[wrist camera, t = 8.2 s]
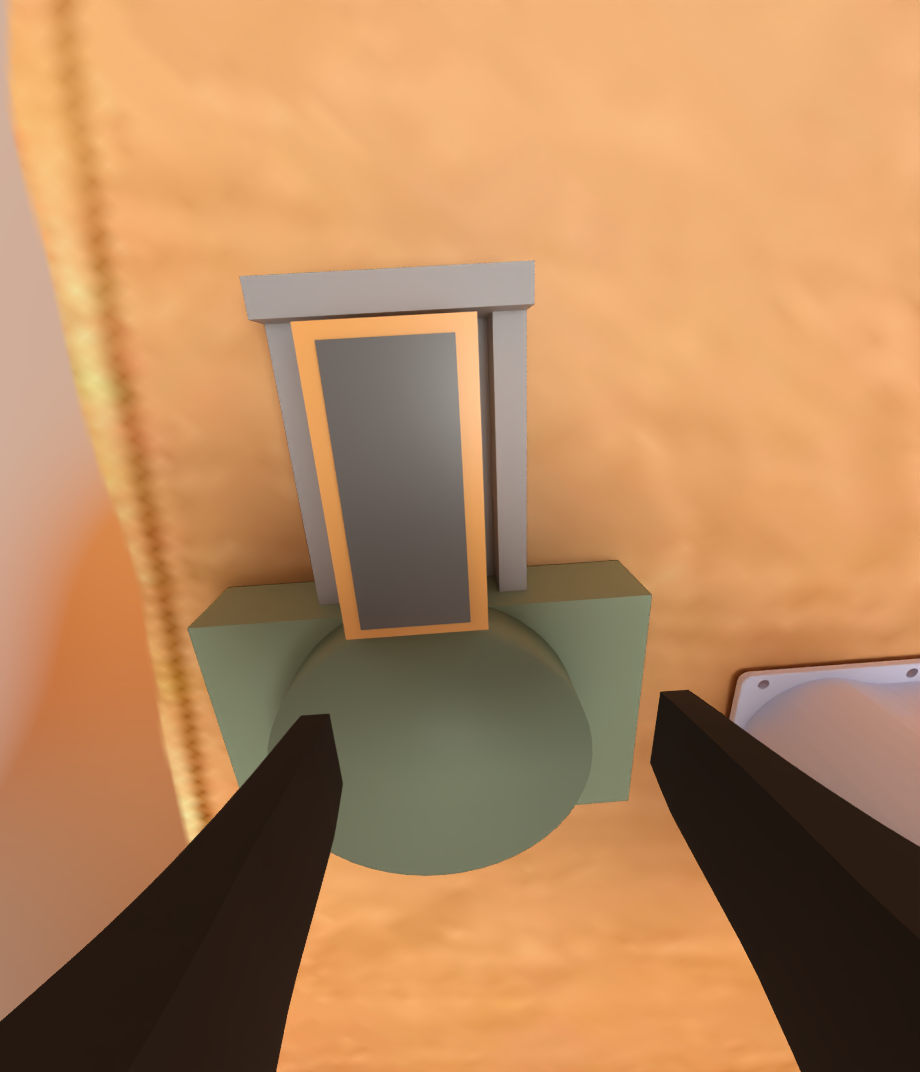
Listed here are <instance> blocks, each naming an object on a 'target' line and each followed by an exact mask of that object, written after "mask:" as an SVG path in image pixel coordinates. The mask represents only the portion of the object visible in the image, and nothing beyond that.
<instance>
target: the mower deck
mask: <svg viewBox="0 0 920 1072" xmlns="http://www.w3.org/2000/svg"><path fill="white" fill-rule="evenodd" d="M240 281H241V286H242V291H243V296H244V301H245V305H246V310H247V315H248V320H251V321H254V322H258V323H261V324H264V325H265V330H266V335H267V340H268V345H269V350H270V355H271V360H272V366H273V371H274V376H275V381H276V386H277V391H278V396H279V401H280V407H281V412H282V417H283V422H284V427H285V432H286V437H287V442H288V447H289V453H290V458H291V463H292V468H293V473H294V478H295V483H296V488H297V493H298V499H299V504H300V509H301V514H302V519H303V524H304V529H305V534H306V539H307V545H308V550H309V555H310V560H311V565H312V570H313V575H314V580H315V582H301V583H286V584H272V585H258V586H243V587H229V588H227V589H226V590H225V591H224V592H223V593H222V594H221V595H220V596H219V597H218V598H217V599H216V600H215V601H214V602H213V603H212V604H211V605H210V606H209V607H208V608H207V609H206V610H205V611H204V612H203V613H202V614H201V615H200V616H199V617H198V618H197V619H196V620H195V621H194V622H193V623H192V624H191V625H190V626H189V627H188V628H187V629H188V632H189V635H190V638H191V641H192V644H193V647H194V650H195V653H196V657H197V660H198V663H199V666H200V669H201V672H202V675H203V678H204V681H205V684H206V687H207V690H208V693H209V696H210V699H211V702H212V705H213V709H214V712H215V715H216V718H217V721H218V724H219V727H220V730H221V733H222V736H223V739H224V742H225V745H226V748H227V751H228V754H229V758H230V761H231V764H232V767H233V770H234V773H235V776H236V779H237V782H238V785H239V788H240V787H241V786H242V785H243V784H244V782H245V781H246V780H247V779H248V778H249V777H250V776H251V774H252V773H253V772H254V771H255V770H256V768H257V767H258V766H259V765H260V764H261V762H262V761H263V760H264V759H265V758H266V756H267V755H268V754H269V753H270V752H271V750H272V749H273V748H274V747H275V746H276V744H277V743H278V742H279V741H280V740H281V738H282V737H283V736H284V735H285V733H286V732H287V731H288V730H289V729H290V727H291V726H292V725H293V724H294V723H295V721H296V720H297V719H298V718H299V717H300V716H301V715H314V714H330V719H331V724H332V729H333V734H334V739H335V745H336V750H337V755H338V760H339V765H340V770H341V775H342V781H343V788H342V794H341V800H340V807H339V813H338V819H337V825H336V830H335V836H334V840H333V844H332V848H331V853H333V854H335V855H337V856H339V857H341V858H343V859H346V860H348V861H350V862H353V863H355V864H359V865H362V866H365V867H368V868H371V869H375V870H380V871H384V872H389V873H397V874H404V875H422V876H429V875H447V874H455V873H462V872H467V871H471V870H476V869H481V868H484V867H487V866H490V865H493V864H496V863H499V862H502V861H504V860H506V859H509V858H511V857H513V856H516V855H517V854H519V853H521V852H523V851H525V850H527V849H529V848H530V847H532V846H533V845H535V844H536V843H538V842H539V841H541V840H542V839H544V838H545V837H546V836H547V835H548V834H550V833H551V832H552V831H553V830H554V829H555V828H557V827H558V826H559V824H560V823H561V822H562V821H563V820H564V819H565V818H566V817H567V816H568V815H569V813H570V812H571V810H572V809H573V808H574V806H575V805H580V804H592V803H604V802H616V801H628V797H629V789H630V780H631V771H632V763H633V754H634V746H635V737H636V728H637V720H638V711H639V703H640V694H641V685H642V677H643V668H644V659H645V651H646V642H647V634H648V625H649V616H650V608H651V599H652V594H651V593H650V592H649V591H648V590H647V589H646V588H645V587H644V586H643V585H642V584H641V583H640V582H639V581H638V580H637V579H636V578H635V577H634V576H633V575H632V574H631V573H630V572H629V571H628V570H627V569H626V568H625V567H624V566H623V565H622V564H621V563H620V562H619V561H618V560H615V561H601V562H586V563H572V564H558V565H543V566H529V567H527V309H528V308H530V307H531V306H532V305H534V283H535V260H534V261H516V262H497V263H478V264H460V265H441V266H422V267H403V268H385V269H366V270H347V271H329V272H310V273H291V274H272V275H254V276H240ZM475 311H477V324H478V352H479V379H480V407H481V434H482V462H483V489H484V517H485V544H486V571H487V599H488V626H489V629H488V630H475V631H461V632H447V633H433V634H419V635H406V636H392V637H378V638H364V639H351V640H346V637H345V631H344V625H343V619H342V614H341V608H340V602H339V597H338V591H337V585H336V579H335V574H334V568H333V562H332V557H331V551H330V545H329V540H328V534H327V528H326V522H325V517H324V511H323V505H322V500H321V494H320V488H319V482H318V477H317V471H316V465H315V460H314V454H313V448H312V443H311V437H310V431H309V425H308V420H307V414H306V408H305V403H304V397H303V391H302V385H301V380H300V374H299V368H298V363H297V357H296V351H295V346H294V340H293V334H292V328H291V323H290V322H293V321H311V320H330V319H348V318H366V317H384V316H402V315H420V314H438V313H457V312H475Z"/></svg>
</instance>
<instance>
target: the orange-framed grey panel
mask: <svg viewBox="0 0 920 1072" xmlns="http://www.w3.org/2000/svg"><path fill="white" fill-rule="evenodd" d="M290 323H291V328H292V334H293V340H294V346H295V351H296V357H297V363H298V368H299V374H300V380H301V385H302V391H303V397H304V403H305V408H306V414H307V420H308V425H309V431H310V437H311V443H312V448H313V454H314V460H315V465H316V471H317V477H318V482H319V488H320V494H321V500H322V505H323V511H324V517H325V522H326V528H327V534H328V540H329V545H330V551H331V557H332V562H333V568H334V574H335V579H336V585H337V591H338V597H339V602H340V608H341V614H342V619H343V625H344V631H345V637H346V640H351V639H364V638H378V637H392V636H406V635H419V634H433V633H447V632H461V631H475V630H488V629H489V626H488V599H487V571H486V544H485V517H484V489H483V462H482V434H481V407H480V379H479V352H478V324H477V311H475V312H457V313H438V314H420V315H402V316H384V317H366V318H348V319H330V320H311V321H293V322H290Z"/></svg>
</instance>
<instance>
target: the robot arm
mask: <svg viewBox="0 0 920 1072" xmlns="http://www.w3.org/2000/svg"><path fill="white" fill-rule="evenodd" d="M759 682H760V683H759ZM650 763H651V766H652V768H653V771H654V773H655V776H656V778H657V781H658V783H659V786H660V788H661V791H662V793H663V796H664V798H665V800H666V803H667V805H668V807H669V810H670V812H671V814H672V816H673V818H674V820H675V822H676V824H677V826H678V827H679V829H680V831H681V833H682V835H683V837H684V839H685V841H686V842H687V844H688V846H689V848H690V850H691V852H692V854H693V855H694V857H695V859H696V861H697V863H698V865H699V866H700V868H701V870H702V872H703V874H704V876H705V877H706V879H707V881H708V883H709V885H710V887H711V888H712V890H713V892H714V894H715V896H716V898H717V900H718V901H719V903H720V905H721V907H722V909H723V911H724V912H725V914H726V916H727V918H728V920H729V922H730V923H731V925H732V927H733V929H734V931H735V933H736V934H737V936H738V938H739V940H740V942H741V944H742V946H743V948H744V950H745V952H746V954H747V956H748V958H749V960H750V962H751V964H752V965H753V967H754V969H755V971H756V973H757V975H758V978H759V980H760V982H761V984H762V986H763V989H764V991H765V993H766V995H767V997H768V1000H769V1002H770V1004H771V1006H772V1008H773V1011H774V1013H775V1015H776V1017H777V1019H778V1022H779V1024H780V1026H781V1028H782V1030H783V1033H784V1035H785V1037H786V1039H787V1041H788V1044H789V1046H790V1048H791V1050H792V1052H793V1055H794V1057H795V1059H796V1062H797V1064H798V1066H799V1069H800V1071H801V1072H920V658H919V659H906V660H893V661H880V662H867V663H854V664H841V665H828V666H815V667H802V668H789V669H776V670H763V671H750V672H745V673H743V674H742V675H741V676H740V677H739V678H738V680H737V684H736V689H735V694H734V699H733V703H732V708H731V713H730V717H729V719H728V718H727V717H726V716H724V715H723V714H722V713H720V712H719V711H717V710H716V709H715V708H713V707H712V706H711V705H709V704H708V703H706V702H705V701H704V700H702V699H701V698H699V697H698V696H696V695H695V694H693V693H692V692H690V691H689V690H679V691H664V692H660V698H659V705H658V712H657V719H656V726H655V733H654V740H653V747H652V754H651V761H650ZM342 788H343V781H342V775H341V770H340V765H339V760H338V755H337V750H336V745H335V739H334V734H333V729H332V724H331V719H330V714H314V715H301V716H300V717H299V718H298V719H297V720H296V721H295V723H294V724H293V725H292V726H291V727H290V729H289V730H288V731H287V732H286V733H285V735H284V736H283V737H282V738H281V740H280V741H279V742H278V743H277V744H276V746H275V747H274V748H273V749H272V750H271V752H270V753H269V754H268V755H267V756H266V758H265V759H264V760H263V761H262V762H261V764H260V765H259V766H258V767H257V768H256V770H255V771H254V772H253V773H252V774H251V776H250V777H249V778H248V779H247V780H246V781H245V782H244V784H243V785H242V786H241V787H240V788H239V789H238V791H237V792H236V793H235V794H234V795H233V796H232V797H231V799H230V800H229V801H228V802H227V803H226V804H225V806H224V807H223V808H222V809H221V810H220V811H219V812H218V813H217V815H216V816H215V817H214V818H213V819H212V820H211V821H210V822H209V823H208V824H207V825H206V827H205V828H204V829H203V830H202V831H201V832H200V833H199V834H198V835H197V836H196V837H195V838H194V839H193V840H192V842H191V843H190V844H189V845H188V846H187V847H186V848H185V849H184V850H183V851H182V852H181V853H180V854H179V856H178V857H177V858H176V859H175V860H174V861H173V862H172V863H171V864H170V865H169V866H168V867H167V868H166V869H165V870H164V871H163V872H162V873H161V874H160V875H159V876H158V877H157V878H156V879H155V880H154V881H153V882H152V883H151V884H150V885H149V886H148V887H147V888H146V889H145V890H144V891H143V892H142V893H141V894H140V895H139V896H138V897H137V898H136V899H135V900H134V901H133V902H132V903H131V904H130V905H129V906H128V907H127V908H126V909H125V910H124V911H123V912H122V913H121V914H119V915H118V916H117V918H115V919H114V920H113V921H112V922H111V923H110V924H109V925H108V926H107V927H106V928H105V929H104V930H103V931H102V932H101V933H99V934H98V935H97V936H96V937H95V938H94V939H93V940H92V941H91V942H90V943H89V944H87V945H86V946H85V947H84V948H83V949H82V950H81V951H80V952H79V953H77V954H76V955H75V956H74V957H73V958H72V959H71V960H70V961H69V962H67V964H65V965H64V966H63V967H62V968H61V969H60V970H59V971H57V972H56V973H55V974H54V975H53V976H51V977H50V978H49V979H48V980H47V981H46V982H45V983H44V984H42V986H40V987H39V988H38V989H37V990H36V991H35V992H34V993H32V994H31V995H30V996H29V997H28V998H27V999H25V1001H23V1002H22V1003H21V1004H20V1005H19V1006H18V1007H16V1008H15V1009H14V1010H13V1011H12V1012H11V1013H10V1014H8V1015H7V1016H6V1017H5V1018H4V1019H3V1020H1V1021H0V1072H276V1069H277V1064H278V1059H279V1054H280V1049H281V1044H282V1039H283V1034H284V1029H285V1024H286V1019H287V1014H288V1009H289V1005H290V1001H291V997H292V993H293V989H294V985H295V980H296V976H297V973H298V969H299V965H300V962H301V958H302V954H303V951H304V947H305V943H306V940H307V936H308V932H309V929H310V925H311V922H312V918H313V914H314V911H315V907H316V903H317V900H318V896H319V892H320V889H321V885H322V881H323V878H324V874H325V870H326V866H327V863H328V859H329V855H330V852H331V848H332V844H333V840H334V836H335V830H336V825H337V819H338V813H339V807H340V800H341V794H342Z"/></svg>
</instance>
